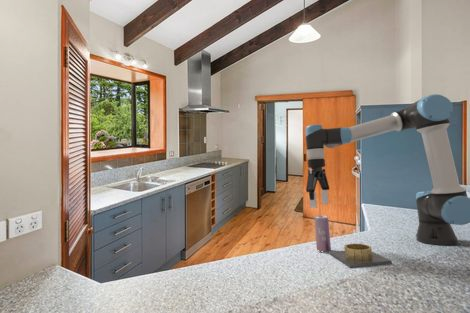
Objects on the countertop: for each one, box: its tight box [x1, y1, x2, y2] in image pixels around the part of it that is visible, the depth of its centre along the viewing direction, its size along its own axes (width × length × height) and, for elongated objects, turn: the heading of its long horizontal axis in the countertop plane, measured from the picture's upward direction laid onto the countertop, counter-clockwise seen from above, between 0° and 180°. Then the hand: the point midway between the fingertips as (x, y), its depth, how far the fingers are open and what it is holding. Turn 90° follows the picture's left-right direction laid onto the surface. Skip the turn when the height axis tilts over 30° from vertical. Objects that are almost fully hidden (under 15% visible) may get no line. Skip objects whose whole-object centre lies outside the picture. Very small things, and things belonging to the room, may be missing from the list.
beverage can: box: [313, 215, 332, 253], centre depth 115 cm, size 6×6×15 cm
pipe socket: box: [329, 243, 393, 269], centre depth 101 cm, size 16×16×5 cm
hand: (319, 205), depth 116 cm, fingers open, 13 cm apart
